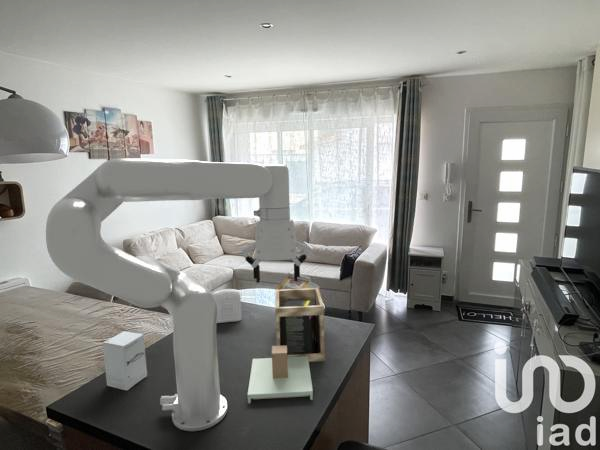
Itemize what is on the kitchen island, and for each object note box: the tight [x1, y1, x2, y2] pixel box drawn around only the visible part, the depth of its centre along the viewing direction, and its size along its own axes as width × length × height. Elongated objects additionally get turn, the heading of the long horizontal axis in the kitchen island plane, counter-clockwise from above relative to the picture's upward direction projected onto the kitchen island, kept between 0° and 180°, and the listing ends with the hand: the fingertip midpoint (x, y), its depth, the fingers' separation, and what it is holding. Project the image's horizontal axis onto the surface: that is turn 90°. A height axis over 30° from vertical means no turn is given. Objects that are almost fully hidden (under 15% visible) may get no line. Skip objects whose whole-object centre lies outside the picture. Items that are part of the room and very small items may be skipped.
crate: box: [274, 288, 326, 363], centre depth 112 cm, size 14×16×17 cm
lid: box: [247, 345, 314, 404], centre depth 96 cm, size 16×17×10 cm
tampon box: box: [281, 299, 317, 355], centre depth 112 cm, size 11×9×15 cm
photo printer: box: [213, 288, 242, 324], centre depth 135 cm, size 10×4×12 cm, turn 102°
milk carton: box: [277, 272, 321, 293], centre depth 129 cm, size 11×10×19 cm
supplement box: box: [102, 331, 148, 391], centre depth 97 cm, size 7×7×13 cm
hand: (277, 280), depth 92 cm, fingers open, 9 cm apart
